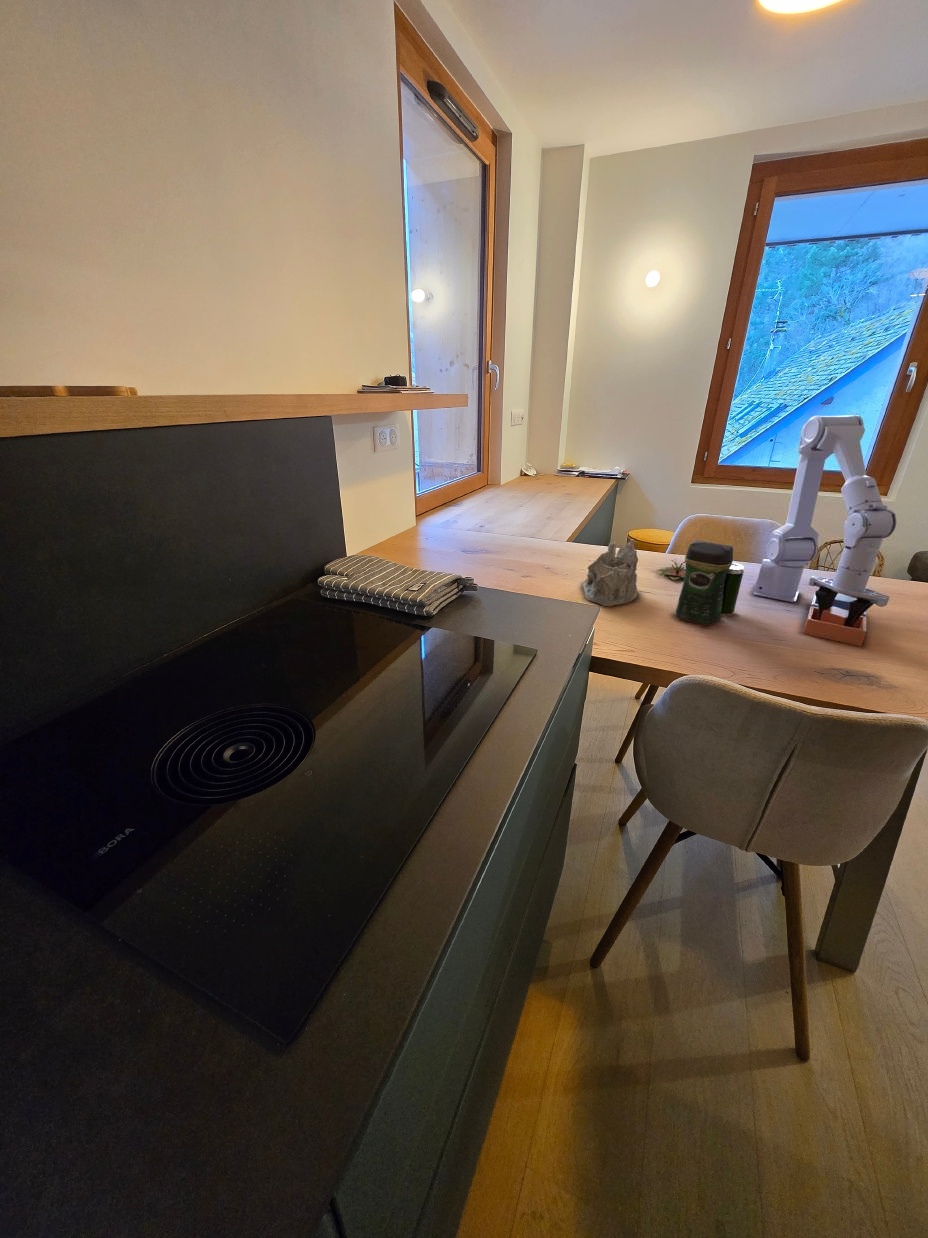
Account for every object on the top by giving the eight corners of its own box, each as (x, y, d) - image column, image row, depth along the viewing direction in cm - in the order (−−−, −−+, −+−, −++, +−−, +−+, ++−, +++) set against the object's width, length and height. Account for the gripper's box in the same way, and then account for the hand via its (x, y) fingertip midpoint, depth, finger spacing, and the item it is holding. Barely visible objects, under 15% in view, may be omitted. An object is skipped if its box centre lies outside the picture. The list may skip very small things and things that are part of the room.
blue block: (823, 615, 117) (829, 598, 115) (825, 609, 120) (830, 592, 118) (847, 620, 114) (853, 602, 112) (847, 613, 118) (853, 596, 116)
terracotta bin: (803, 633, 110) (807, 619, 108) (806, 619, 116) (811, 606, 115) (860, 646, 104) (866, 631, 103) (861, 631, 111) (866, 617, 109)
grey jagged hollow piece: (602, 577, 143) (607, 527, 136) (649, 597, 131) (657, 543, 123) (563, 592, 136) (565, 540, 128) (608, 614, 124) (614, 559, 116)
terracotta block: (816, 628, 111) (822, 610, 109) (827, 624, 113) (833, 606, 111) (838, 636, 107) (845, 617, 105) (849, 631, 109) (856, 613, 107)
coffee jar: (723, 618, 118) (740, 543, 110) (712, 629, 112) (730, 551, 104) (682, 607, 123) (695, 535, 115) (670, 618, 118) (683, 543, 110)
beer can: (725, 618, 117) (736, 571, 112) (704, 611, 121) (714, 564, 116) (737, 613, 120) (749, 566, 115) (717, 605, 124) (727, 560, 119)
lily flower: (671, 584, 137) (673, 569, 135) (646, 570, 148) (649, 556, 146) (708, 580, 140) (711, 565, 138) (682, 566, 150) (684, 552, 148)
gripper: (905, 573, 100) (881, 633, 105) (828, 554, 111) (811, 609, 117) (887, 580, 96) (864, 641, 102) (810, 559, 108) (793, 615, 114)
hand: (835, 624), depth 109 cm, fingers closed on terracotta block, 4 cm apart
